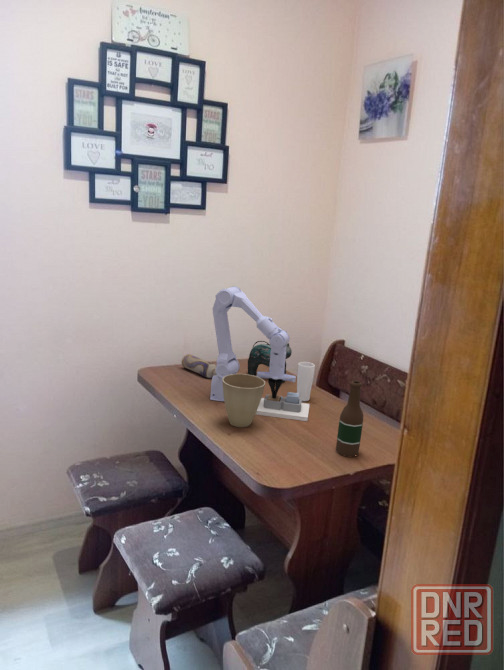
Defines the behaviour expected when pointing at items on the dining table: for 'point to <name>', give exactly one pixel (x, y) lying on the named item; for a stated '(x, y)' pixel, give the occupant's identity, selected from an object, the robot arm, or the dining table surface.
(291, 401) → the key slate
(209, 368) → the decorative bottle
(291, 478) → the dining table surface
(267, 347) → the ceramic cat
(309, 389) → the drinking glass
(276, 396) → the key oak
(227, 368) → the robot arm
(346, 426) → the beer bottle
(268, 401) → the key panel
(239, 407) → the plant pot
